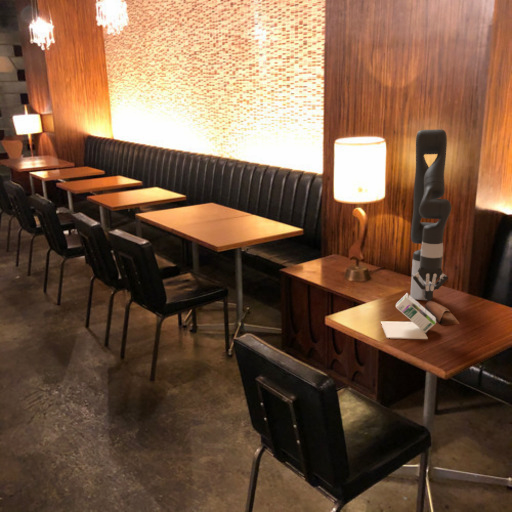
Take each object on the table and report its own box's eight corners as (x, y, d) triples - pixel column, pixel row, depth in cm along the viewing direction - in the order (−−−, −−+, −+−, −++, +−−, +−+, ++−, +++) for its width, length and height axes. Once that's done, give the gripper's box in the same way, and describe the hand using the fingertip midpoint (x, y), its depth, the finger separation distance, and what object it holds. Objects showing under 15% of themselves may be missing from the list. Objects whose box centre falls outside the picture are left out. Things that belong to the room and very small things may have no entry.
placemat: (380, 322, 210) (380, 321, 210) (418, 323, 209) (418, 321, 209) (386, 338, 196) (386, 337, 195) (427, 339, 194) (427, 337, 194)
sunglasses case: (461, 324, 207) (454, 310, 206) (445, 333, 208) (437, 319, 207) (444, 307, 225) (437, 294, 223) (429, 315, 225) (422, 303, 224)
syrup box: (425, 333, 199) (395, 307, 200) (425, 327, 205) (396, 302, 206) (436, 323, 197) (405, 297, 198) (436, 317, 202) (406, 292, 203)
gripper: (447, 251, 196) (443, 296, 201) (410, 251, 197) (407, 296, 202) (453, 257, 189) (449, 303, 194) (415, 256, 190) (411, 303, 195)
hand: (428, 299), depth 198 cm, fingers closed
